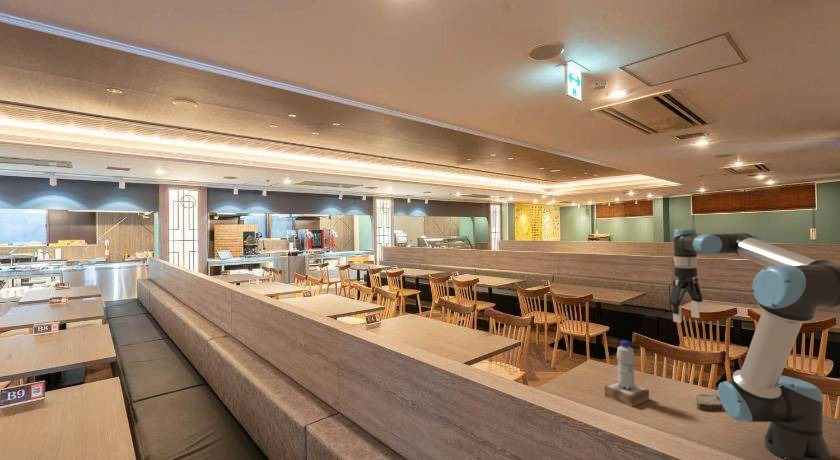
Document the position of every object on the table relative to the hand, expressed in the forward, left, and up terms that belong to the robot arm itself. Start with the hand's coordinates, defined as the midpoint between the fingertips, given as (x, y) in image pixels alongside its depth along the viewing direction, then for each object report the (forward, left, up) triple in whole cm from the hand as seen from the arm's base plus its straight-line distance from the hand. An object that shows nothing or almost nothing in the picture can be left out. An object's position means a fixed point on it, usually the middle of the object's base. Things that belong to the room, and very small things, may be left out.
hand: (686, 319), depth 152 cm
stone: (-4, -8, -35) cm, 36 cm away
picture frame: (+17, +14, -35) cm, 41 cm away
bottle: (+17, +14, -31) cm, 38 cm away
